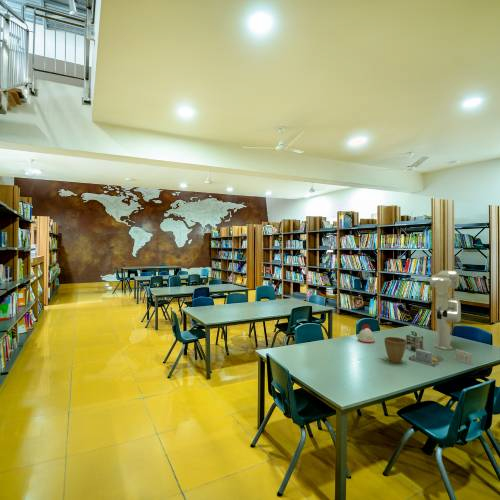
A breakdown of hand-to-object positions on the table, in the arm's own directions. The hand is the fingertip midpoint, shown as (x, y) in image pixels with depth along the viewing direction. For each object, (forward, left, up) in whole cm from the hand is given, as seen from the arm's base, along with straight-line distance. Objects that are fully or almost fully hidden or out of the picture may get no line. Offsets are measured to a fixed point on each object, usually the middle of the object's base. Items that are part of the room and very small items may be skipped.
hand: (442, 317), depth 237 cm
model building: (-4, -22, -31) cm, 38 cm away
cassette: (-4, +13, -31) cm, 33 cm away
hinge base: (+13, -5, -30) cm, 33 cm away
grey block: (+18, -5, -30) cm, 35 cm away
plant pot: (+34, -18, -31) cm, 49 cm away
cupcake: (+7, -59, -31) cm, 67 cm away
